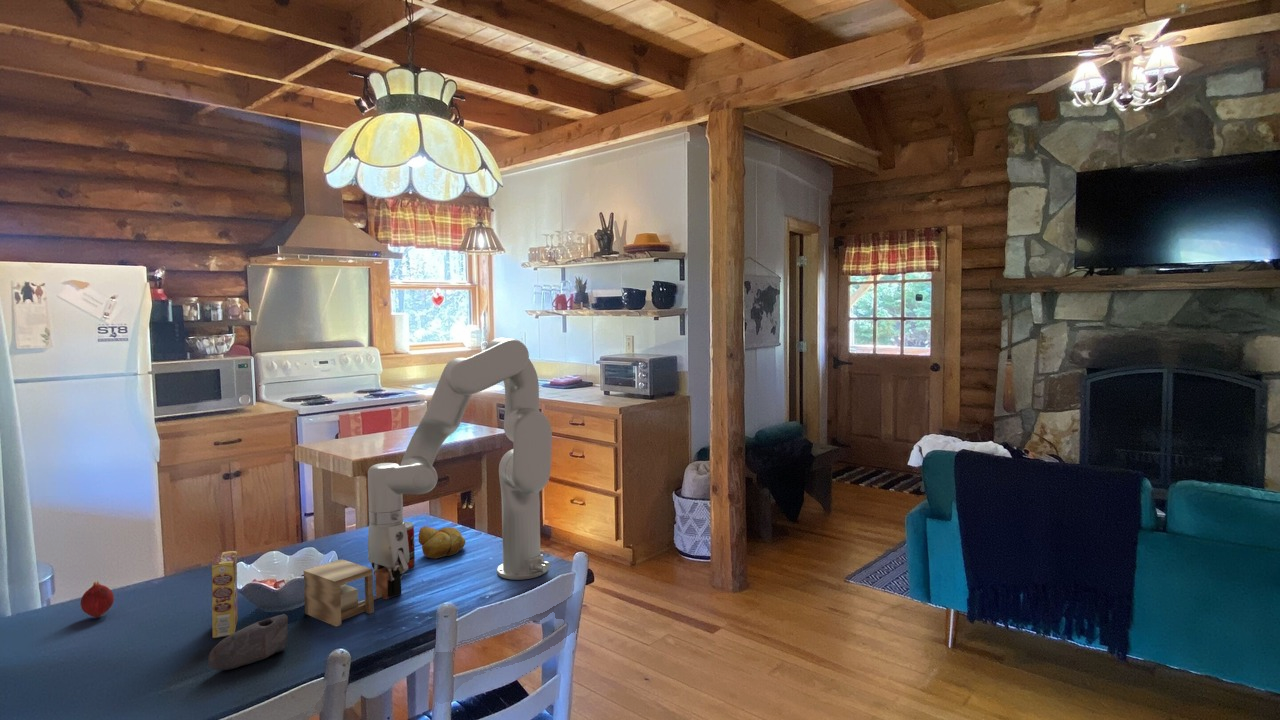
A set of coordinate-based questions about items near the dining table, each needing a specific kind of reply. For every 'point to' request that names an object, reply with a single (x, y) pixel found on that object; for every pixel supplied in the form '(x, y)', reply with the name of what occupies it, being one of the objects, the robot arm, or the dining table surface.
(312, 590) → the oak shelf cubby
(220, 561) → the candy box
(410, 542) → the canned food
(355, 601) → the birch block with cord
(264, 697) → the dining table surface
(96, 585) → the red pomegranate
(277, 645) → the perforated stone tool
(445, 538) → the bread roll
